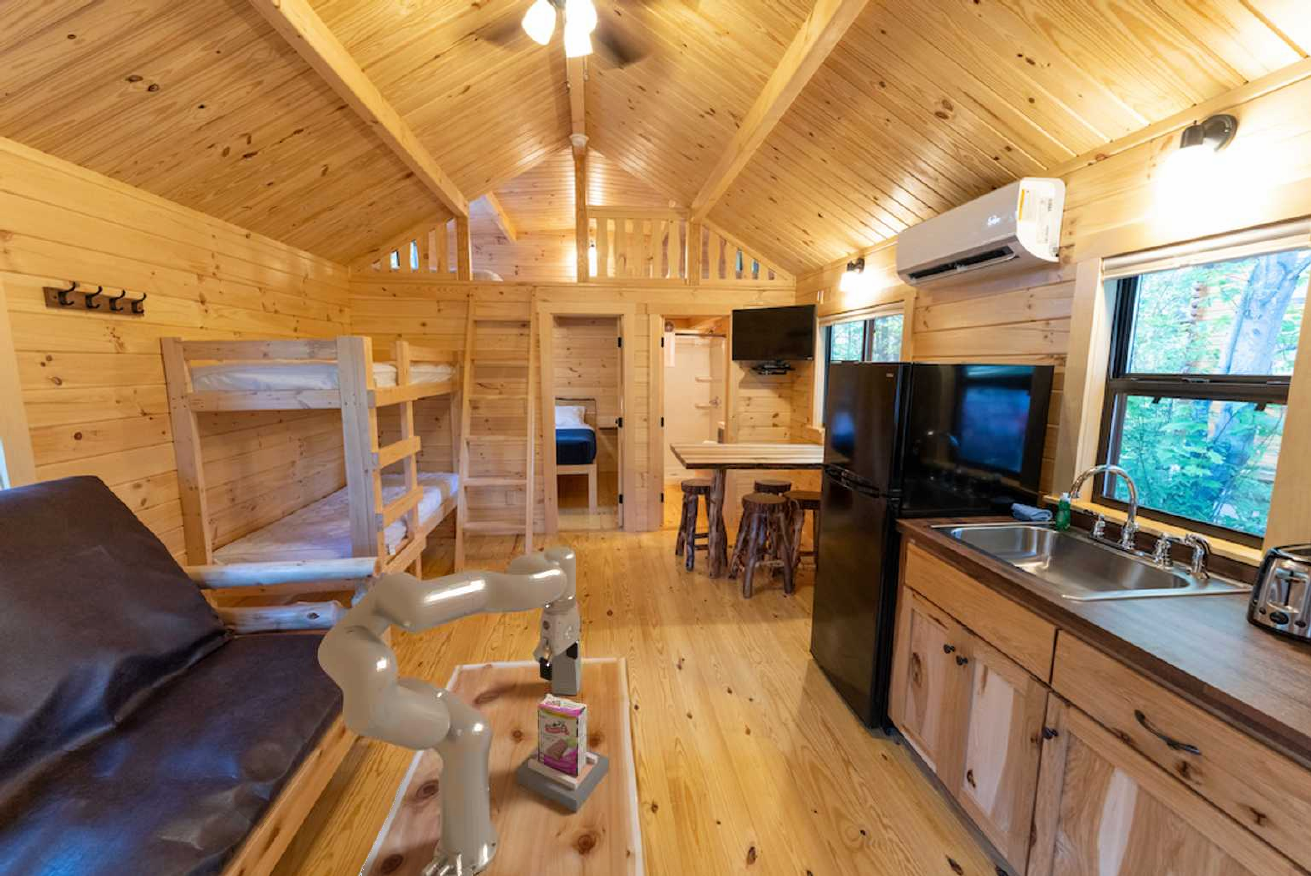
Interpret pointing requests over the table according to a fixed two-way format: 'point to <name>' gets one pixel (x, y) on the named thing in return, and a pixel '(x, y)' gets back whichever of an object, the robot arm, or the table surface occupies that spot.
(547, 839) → the table surface
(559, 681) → the skincare box
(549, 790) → the display plinth
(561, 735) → the candy bar box
